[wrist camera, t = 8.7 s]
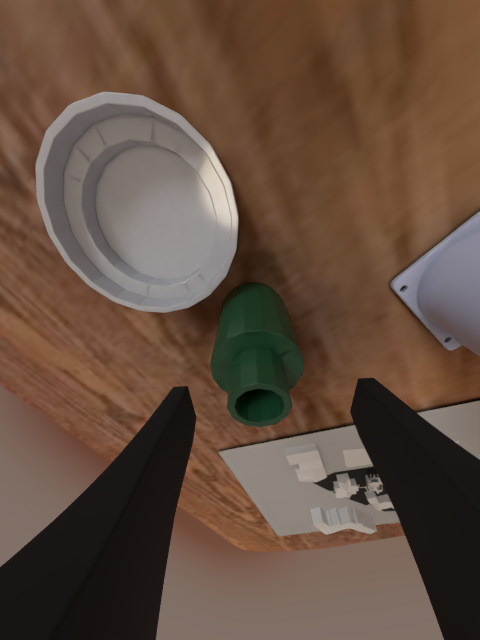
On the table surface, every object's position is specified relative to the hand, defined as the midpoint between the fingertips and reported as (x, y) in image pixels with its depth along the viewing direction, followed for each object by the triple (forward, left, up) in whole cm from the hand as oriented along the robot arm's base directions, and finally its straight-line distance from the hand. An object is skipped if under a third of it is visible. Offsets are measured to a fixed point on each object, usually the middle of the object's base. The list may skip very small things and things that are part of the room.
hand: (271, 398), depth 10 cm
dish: (+9, 0, -10) cm, 13 cm away
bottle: (0, +1, -10) cm, 10 cm away
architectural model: (-31, +10, -10) cm, 34 cm away
